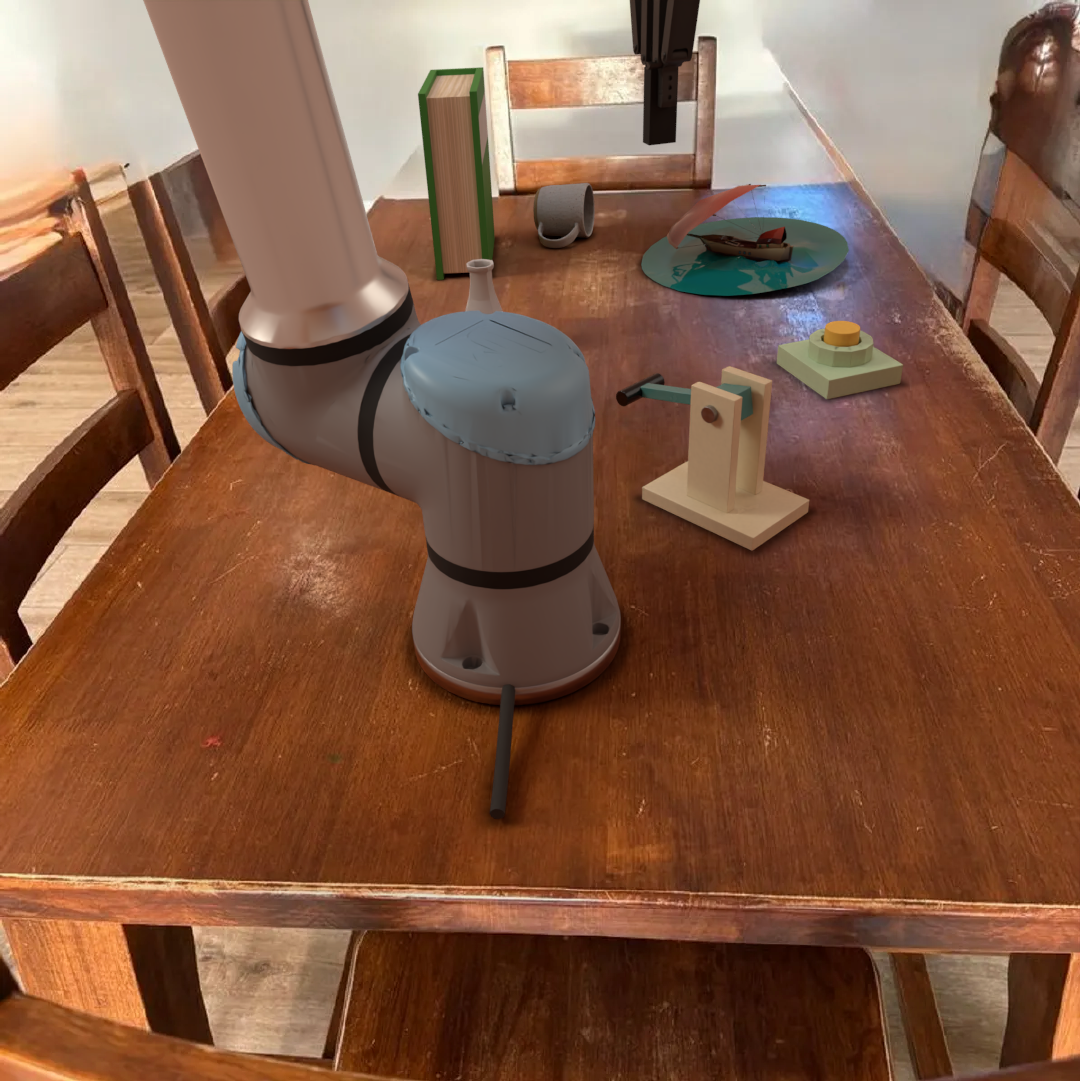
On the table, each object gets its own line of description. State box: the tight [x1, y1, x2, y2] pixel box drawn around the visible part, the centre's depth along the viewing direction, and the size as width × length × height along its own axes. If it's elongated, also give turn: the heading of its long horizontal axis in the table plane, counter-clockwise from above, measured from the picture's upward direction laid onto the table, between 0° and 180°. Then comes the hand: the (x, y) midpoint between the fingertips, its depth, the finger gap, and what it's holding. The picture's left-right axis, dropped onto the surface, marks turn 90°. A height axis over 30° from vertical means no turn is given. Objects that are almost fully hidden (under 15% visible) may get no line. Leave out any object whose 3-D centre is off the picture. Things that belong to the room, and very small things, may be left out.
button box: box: [776, 327, 904, 400], centre depth 109 cm, size 10×9×4 cm
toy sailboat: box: [640, 183, 850, 297], centre depth 137 cm, size 28×28×11 cm
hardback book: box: [417, 66, 496, 281], centre depth 141 cm, size 18×7×24 cm, turn 0°
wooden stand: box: [641, 365, 810, 552], centre depth 85 cm, size 12×8×12 cm, turn 44°
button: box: [823, 320, 861, 347], centre depth 107 cm, size 4×4×2 cm
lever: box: [615, 372, 753, 421], centre depth 86 cm, size 12×5×2 cm, turn 44°
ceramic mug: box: [532, 182, 596, 249], centre depth 151 cm, size 11×8×8 cm
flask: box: [464, 259, 504, 314], centre depth 118 cm, size 7×7×10 cm
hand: (659, 142), depth 95 cm, fingers closed
